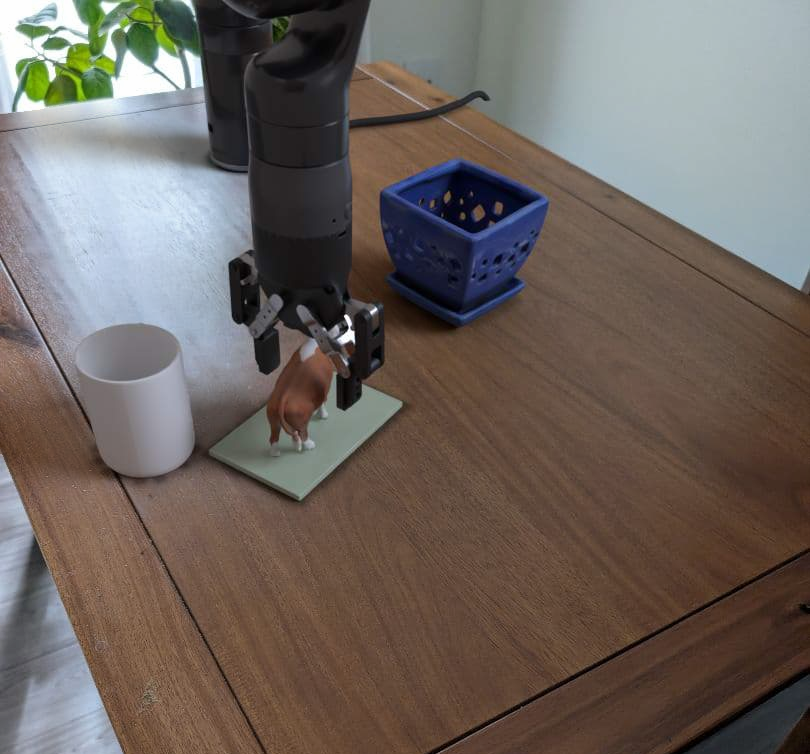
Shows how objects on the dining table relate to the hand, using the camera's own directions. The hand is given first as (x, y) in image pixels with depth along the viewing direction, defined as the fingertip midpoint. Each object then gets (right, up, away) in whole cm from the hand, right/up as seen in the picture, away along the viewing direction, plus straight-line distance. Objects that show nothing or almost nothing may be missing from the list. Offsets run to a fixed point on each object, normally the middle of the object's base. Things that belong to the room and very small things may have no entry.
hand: (308, 387), depth 75 cm
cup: (-14, -4, +2) cm, 15 cm away
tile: (0, -3, +3) cm, 5 cm away
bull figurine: (0, -3, +3) cm, 4 cm away
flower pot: (+14, +14, +21) cm, 28 cm away
